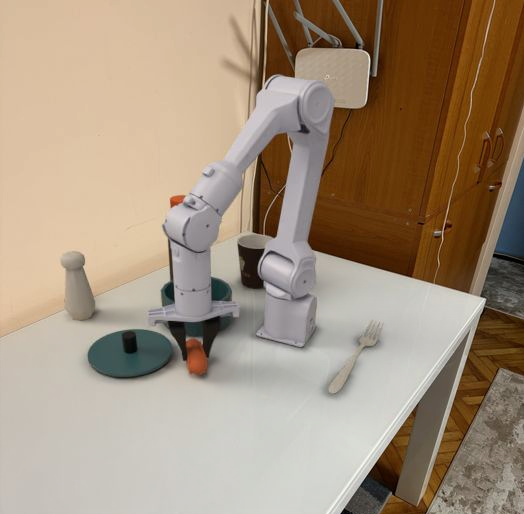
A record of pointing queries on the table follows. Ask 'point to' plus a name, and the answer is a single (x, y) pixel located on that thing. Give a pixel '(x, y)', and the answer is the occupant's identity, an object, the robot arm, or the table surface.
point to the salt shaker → (77, 287)
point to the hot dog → (196, 357)
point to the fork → (354, 359)
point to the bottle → (173, 201)
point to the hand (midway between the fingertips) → (195, 356)
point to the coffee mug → (251, 258)
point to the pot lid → (130, 352)
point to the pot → (218, 293)
